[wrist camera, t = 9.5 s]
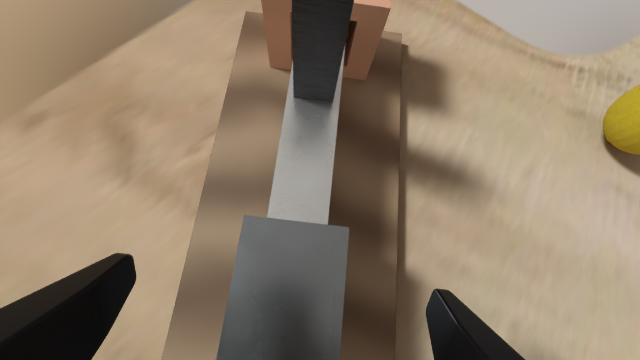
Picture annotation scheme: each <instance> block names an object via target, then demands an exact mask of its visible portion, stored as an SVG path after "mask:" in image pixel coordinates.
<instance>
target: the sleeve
mask: <svg viewBox="0 0 640 360" xmlns="http://www.w3.org/2000/svg"><path fill="white" fill-rule="evenodd" d="M348 239H349V227H343V226H334V225H326V224H318V223H309V222H301V221H292V220H284V219H275V218H267V217H259V216H250V215H244V217H243V222H242V227H241V232H240V238H239V243H238V248H237V253H236V259H235V264H234V269H233V274H232V280H231V285H230V290H229V295H228V301H227V306H226V311H225V316H224V322H223V327H222V332H221V337H220V343H219V348H218V353H217V358H216V360H340V347H341V334H342V320H343V307H344V293H345V280H346V266H347V253H348Z"/></svg>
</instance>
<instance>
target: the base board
mask: <svg viewBox="0 0 640 360" xmlns="http://www.w3.org/2000/svg"><path fill="white" fill-rule="evenodd" d="M401 51H402V34H400V33H393V32H386V31H383V32H382V35H381V37H380V40H379V43H378V46H377V49H376V52H375V55H374V58H373V60H372V63H371V66H370V69H369V72H368V75H367V78H366V80H359V79H352V78H345V77H342V83H341V93H340V103H339V114H338V124H337V134H336V144H335V155H334V165H333V175H332V185H331V196H330V206H329V216H328V225H334V226H343V227H349V239H348V253H347V266H346V280H345V293H344V307H343V320H342V334H341V347H340V360H395V326H396V280H397V234H398V189H399V143H400V97H401ZM290 75H291V70H286V69H279V68H272V67H270V63H269V56H268V48H267V40H266V32H265V25H264V17H263V14H261V13H254V12H247V11H246V13H245V17H244V21H243V25H242V29H241V34H240V38H239V42H238V46H237V50H236V54H235V58H234V62H233V67H232V71H231V75H230V79H229V83H228V87H227V91H226V96H225V100H224V104H223V108H222V112H221V116H220V120H219V124H218V129H217V133H216V137H215V141H214V145H213V149H212V153H211V157H210V162H209V166H208V170H207V174H206V178H205V182H204V186H203V190H202V195H201V199H200V203H199V207H198V211H197V215H196V219H195V223H194V228H193V232H192V236H191V240H190V244H189V248H188V252H187V256H186V261H185V265H184V269H183V273H182V277H181V281H180V285H179V289H178V294H177V298H176V302H175V306H174V310H173V314H172V318H171V322H170V327H169V331H168V335H167V339H166V343H165V347H164V351H163V355H162V360H216V358H217V353H218V348H219V343H220V337H221V332H222V327H223V322H224V316H225V311H226V306H227V301H228V295H229V290H230V285H231V280H232V274H233V269H234V264H235V259H236V253H237V248H238V243H239V238H240V232H241V227H242V222H243V217H244V215H250V216H259V217H267V214H268V208H269V202H270V196H271V190H272V184H273V178H274V172H275V166H276V159H277V153H278V147H279V141H280V135H281V129H282V123H283V117H284V111H285V105H286V99H287V93H288V87H289V81H290Z"/></svg>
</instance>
